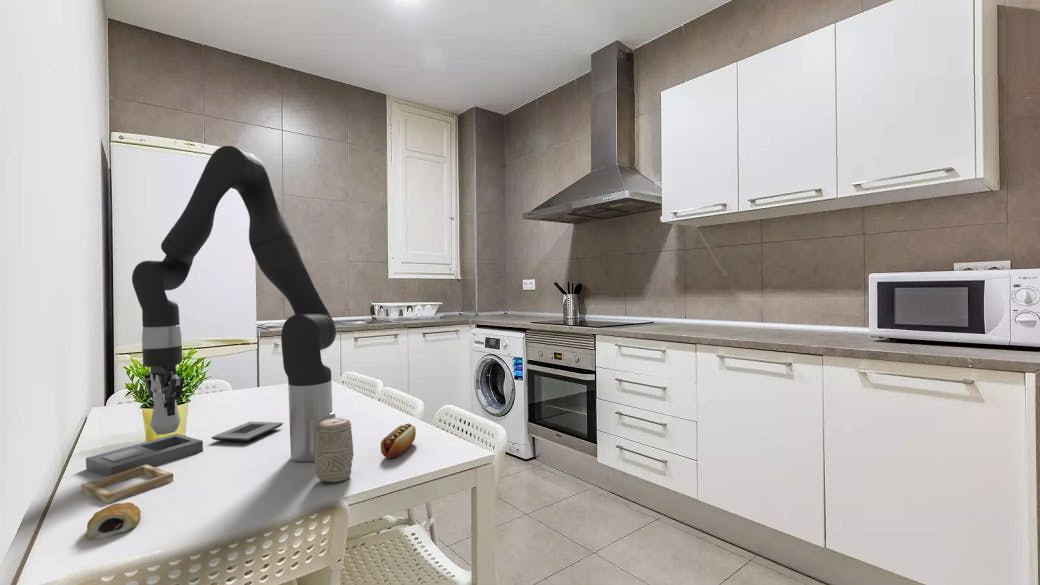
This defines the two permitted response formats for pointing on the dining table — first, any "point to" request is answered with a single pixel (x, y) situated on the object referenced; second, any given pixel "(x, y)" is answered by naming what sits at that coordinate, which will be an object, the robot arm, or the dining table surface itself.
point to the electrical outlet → (247, 431)
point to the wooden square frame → (107, 497)
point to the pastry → (113, 520)
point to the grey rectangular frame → (144, 454)
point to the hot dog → (398, 441)
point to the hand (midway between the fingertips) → (165, 416)
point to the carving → (333, 450)
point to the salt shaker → (163, 415)
